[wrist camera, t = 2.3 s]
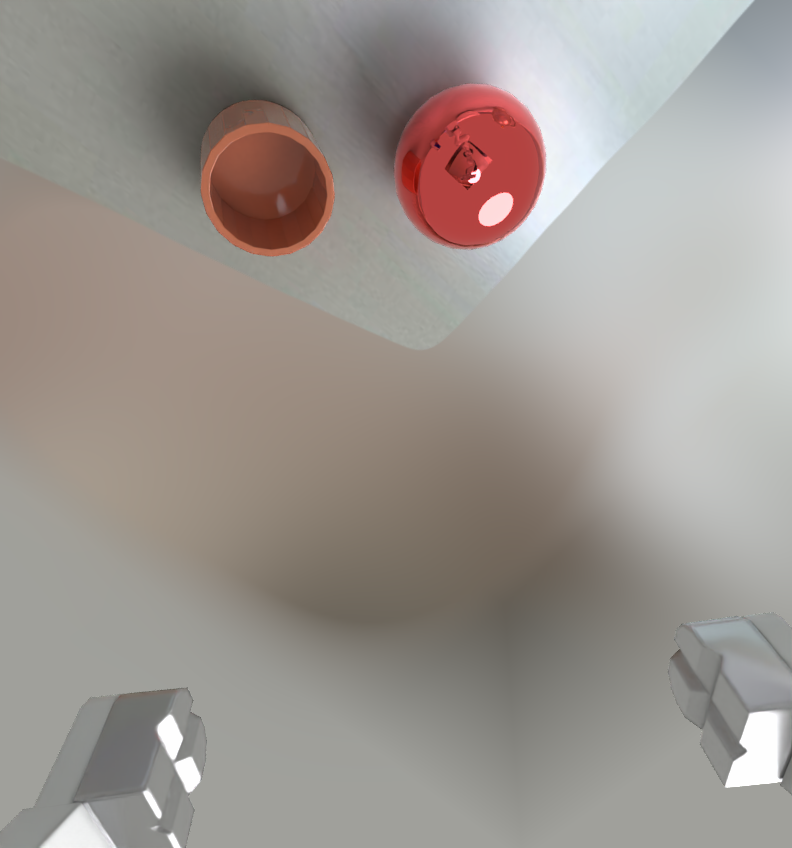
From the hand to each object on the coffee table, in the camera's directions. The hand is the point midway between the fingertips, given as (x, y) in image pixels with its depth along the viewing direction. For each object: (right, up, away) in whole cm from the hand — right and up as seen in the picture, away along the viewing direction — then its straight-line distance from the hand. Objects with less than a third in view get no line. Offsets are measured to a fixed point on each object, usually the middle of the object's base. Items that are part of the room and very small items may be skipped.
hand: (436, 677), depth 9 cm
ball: (+4, +29, +39) cm, 48 cm away
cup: (-12, +25, +36) cm, 46 cm away
